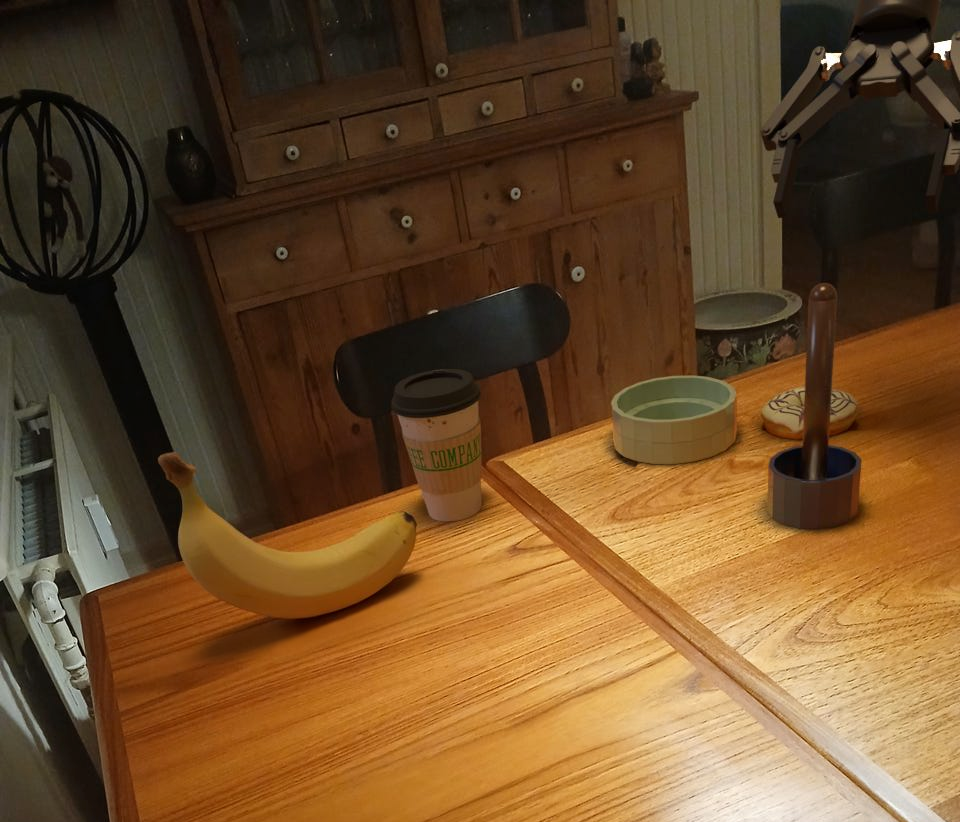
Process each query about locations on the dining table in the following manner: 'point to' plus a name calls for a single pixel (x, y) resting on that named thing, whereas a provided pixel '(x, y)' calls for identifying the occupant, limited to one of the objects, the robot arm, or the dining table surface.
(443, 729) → the dining table surface
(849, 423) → the decorated donut
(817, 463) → the wooden pestle
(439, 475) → the coffee cup
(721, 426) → the bowl
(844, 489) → the crock
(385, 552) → the banana
